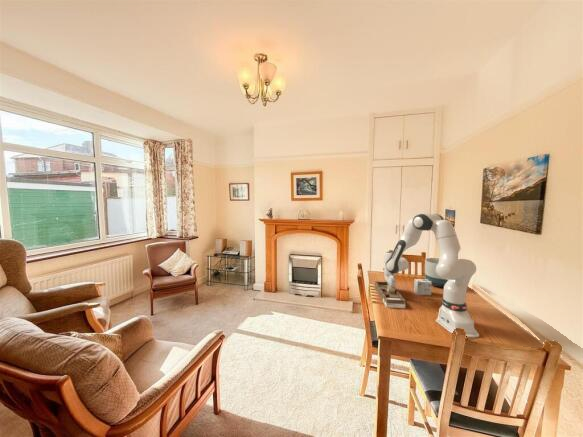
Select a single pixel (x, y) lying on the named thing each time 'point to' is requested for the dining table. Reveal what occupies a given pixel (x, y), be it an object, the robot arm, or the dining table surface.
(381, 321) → the dining table surface
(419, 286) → the light bulb box
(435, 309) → the dining table surface
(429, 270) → the planter
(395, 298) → the trap channel
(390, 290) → the birch block
